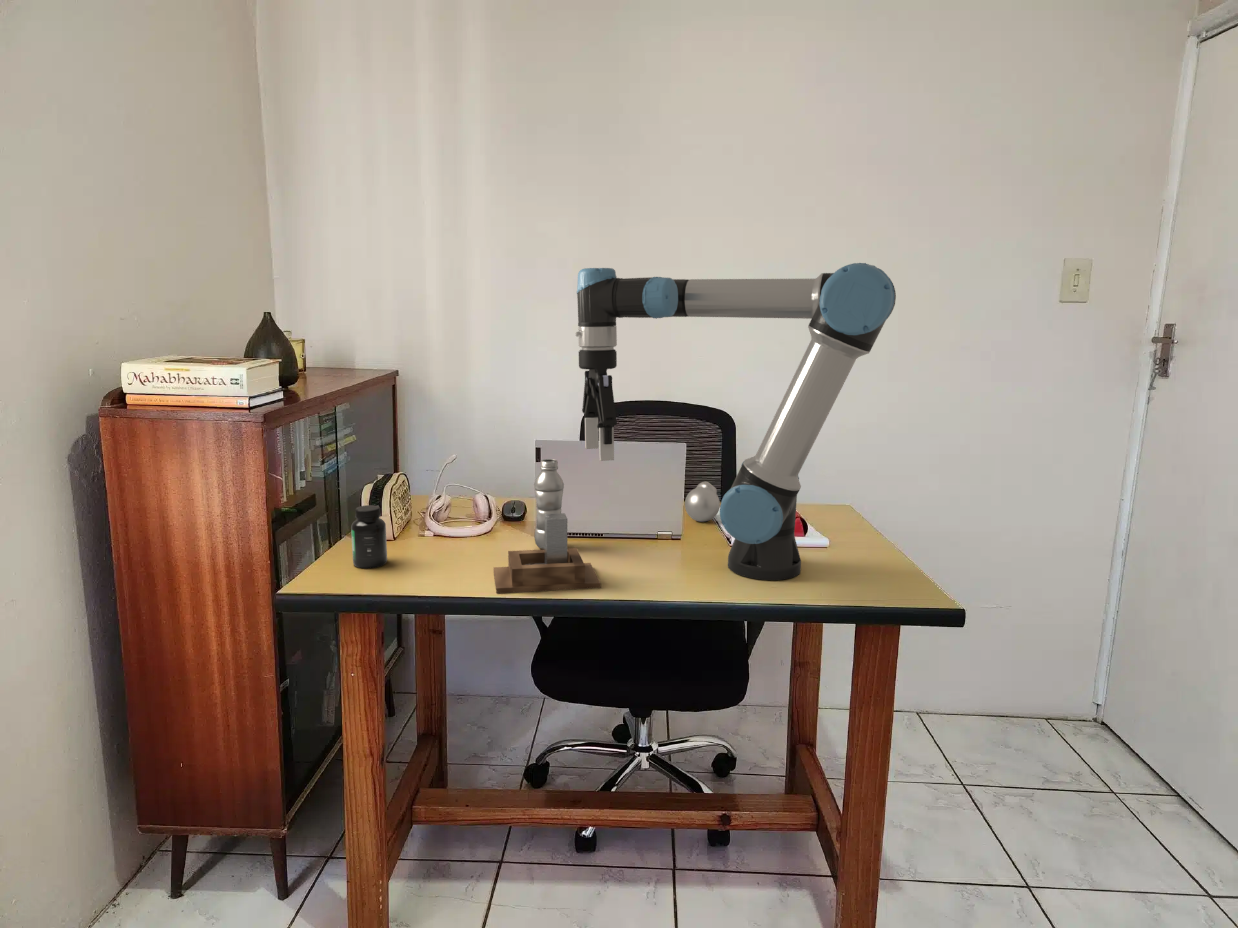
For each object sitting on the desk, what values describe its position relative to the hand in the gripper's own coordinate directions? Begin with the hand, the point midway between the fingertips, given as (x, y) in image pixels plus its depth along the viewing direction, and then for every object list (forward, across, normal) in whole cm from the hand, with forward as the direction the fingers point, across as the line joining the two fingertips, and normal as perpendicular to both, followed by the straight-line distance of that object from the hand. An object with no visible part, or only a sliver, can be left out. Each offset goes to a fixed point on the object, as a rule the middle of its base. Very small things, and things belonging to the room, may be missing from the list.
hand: (599, 454), depth 162 cm
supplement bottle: (+23, -12, -47) cm, 53 cm away
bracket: (+23, +5, -12) cm, 26 cm away
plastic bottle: (+24, -15, -8) cm, 29 cm away
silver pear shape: (+25, -30, +33) cm, 51 cm away
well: (+24, +5, -12) cm, 27 cm away
